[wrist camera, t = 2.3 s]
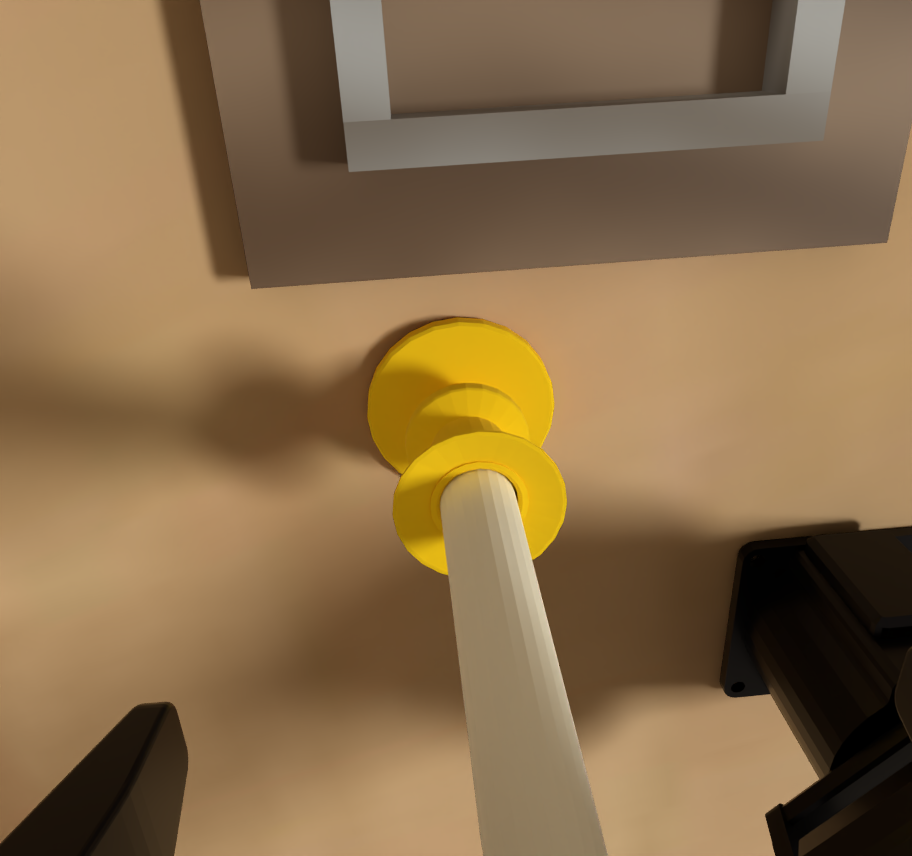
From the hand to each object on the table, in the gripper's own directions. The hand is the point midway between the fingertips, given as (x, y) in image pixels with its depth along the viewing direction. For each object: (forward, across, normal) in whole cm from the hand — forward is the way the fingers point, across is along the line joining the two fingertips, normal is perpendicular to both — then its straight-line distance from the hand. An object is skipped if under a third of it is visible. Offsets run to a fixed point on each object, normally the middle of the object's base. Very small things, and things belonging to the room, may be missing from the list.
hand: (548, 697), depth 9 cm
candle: (+13, 0, +2) cm, 13 cm away
